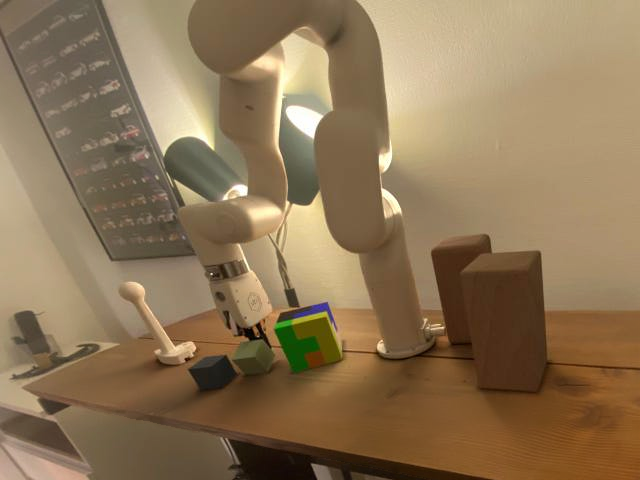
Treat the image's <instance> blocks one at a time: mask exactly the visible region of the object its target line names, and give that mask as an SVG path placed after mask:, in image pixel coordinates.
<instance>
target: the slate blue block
mask: <svg viewBox="0 0 640 480" xmlns="http://www.w3.org/2000/svg"><path fill="white" fill-rule="evenodd" d="M187 371H188V372H189V374H190V375H191V377H192V379H193V380H194V382H195V384H196V385H197V387H198V389H199V390H201V391H202V390H203V391H204V390H212V389H213V390H214V389H223V388H224V387H225V386H226V385H227V384H229V382H231V381H232V380H233V379H234V378H235V377H237V375H238V373H237V371H236V370H235V368H234V365H233V364H232V362H231V360H230V359H229V357H228V355H227V354H221V355H210V356H205V357H202V359H200V360H198V361H197V362H196V363H194V364H193V365H191V366H190V367H188V368H187Z"/></svg>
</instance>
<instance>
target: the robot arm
mask: <svg viewBox="0 0 640 480" xmlns="http://www.w3.org/2000/svg"><path fill="white" fill-rule="evenodd" d="M192 4H193V5H192V6H191V8H190V10H189V13H188V18H187V27H186V28H187V29H186V30H187V35H188V39H189V43H190V46H191V48H192V50H193V52H194V54H195V55H196V57H197V58H198V60H199V61H200V62H201V63H202V64H203V65H204V66H205V67H206V68H207V69H209V70H210V71H211V72H213V73H215V74H218V75H219V93H218V95H219V96H218V98H219V99H218V101H219V102H218V127H219V129H220V131H221V133H222V134H223V135H224V136H225V137H226V138H227V139H228V140H229V141H231V143H232V144H234V145H235V146H236V148H237V149H238V150H239V151H240V153H241V154H242V157H243V159H244V161H245V164H246V169H247V193H246V195H241V196H236V197H233V198H227V199H224V200H221V201H206V202H197V203H192V204H191V203H190V204H186V205H183V206H181V207H179V208H178V209H177V217H178V219H179V221H180V224H181V226H182V228H183V230H184V232H185V235H186V236H187V239H188V240H189V242H190V245H191V247H192V249H193V251H194V254H195V255H196V257H197V260H198V261H199V263H200V266H201V267H202V270H203V272H204V276H205V278H206V279H207V280H208V282H209V283H208V286H209V290H210V293H211V296H212V299H213V302H214V305H215V307H216V309H217V312H218V314H219V317H220V319H221V322H222V323H223V324H224V326H225V328H226V329H228V330H230V331H231V333H232V336H233V337H234V338H239V337H244V338H245V339H248V341H254V340H261V339H263V340H264V342H265V343H266V344H267V345H268V346H269V348H270V349H271V350H272V344H271V343H270V340H269V338H268V336H267V334H266V333H267V327H266V321H267V319H269V316H270V315H271V314H272V313H273V307H272V304H271V302H270V299H269V297H268V295H267V292H266V291H265V289H264V287H263V286H262V283H261V282H260V280H259V278H258V277H257V274H255V272H254V271H253V270H252V269H251V268H250V266H249V264H248V261H247V258H246V256H245V255H244V251H243V249H242V246H241V244H248V243H251V242H254V241H256V240H259V239H261V238H263V237H266V236H268V235H269V236H270V235H271V234H274V233H275V232H277V231H278V230H279V229H280V228H281V227H282V224H283V223H284V220H285V215H286V209H287V202H288V201H287V200H288V189H289V186H288V177H287V172H286V171H287V170H286V167H285V163H284V158H283V155H282V152H281V150H280V145H279V141H280V140H279V139H280V128H281V115H282V105H283V93H284V83H285V82H284V81H285V70H286V57H285V50H284V47H283V45H282V43H281V42H283V41H284V40H286V38H288V37H290V36H291V35H292V34H294V35H296V36H297V37H299V38H302V39H304V40H306V41H307V42H310V43H311V44H314V45H316V46H318V47H321V49H323V50H324V51H325V52H326V54H327V57H328V65H327V66H328V67H327V76H328V77H327V78H328V88H329V92H330V96H331V97H330V99H331V106H332V110H331V111H328V112H327V113H326V114H324V115H323V116H322V117H321V118H320V120H319V121H318V123H317V125H316V128H315V131H314V135H313V158H314V163H315V168H316V169H315V170H316V175H317V181H318V186H319V192H320V197H321V203H322V209H323V214H324V219H325V223H326V226H327V229H328V232H329V234H330V235H331V237H332V239H333V240H334V242H335V243H336V244H337V245H338V246H339V247H340V248H342V249H343V250H345V251H346V252H349V253H351V254H354V255H355V254H356V255H358V261H359V266H360V270H361V273H362V277H363V280H364V284H365V287H366V291H367V294H368V297H369V300H370V301H369V302H370V304H371V308H372V311H373V314H374V317H375V321H376V324H377V328H378V330H379V334H380V337H381V340H379V342H378V343H377V345H376V349H377V352H378V355H380V356H381V357H383V358H385V359H391V360H397V359H398V360H399V359H406V358H410V357H413V356H417V355H419V354H422V353H424V352H425V351H427V350H429V349H430V348H431V347H432V346H433V345H434V344H435V342H436V337H439V338H440V337H446V336H447V331H446V326H443V324H442V323H435V324H431V323H429V319H428V318H424V314H423V311H422V306H421V302H420V297H419V293H418V289H417V285H416V281H415V277H414V272H413V267H412V262H411V257H410V254H409V253H410V252H409V248H408V243H407V235H406V229H405V228H406V227H405V221H404V216H403V212H402V209H401V206H400V205H399V202H398V200H397V199H396V198H395V197H394V196H393V195H392V194H391V193H390V192H389V191H388V190H386V189H384V188H383V185H382V174H383V173H385V172H386V171H387V170H388V168H389V167H390V164H391V162H392V157H393V156H392V155H393V151H392V148H393V147H392V140H391V139H392V138H391V132H390V122H389V121H390V120H389V110H388V99H387V93H386V92H387V91H386V82H385V71H384V62H383V52H382V47H381V43H380V39H379V36H378V32H377V29H376V27H375V24H374V22H373V21H372V19H371V17H370V15H369V14H368V11H366V9H365V8H364V7H363V5H362V4H361V3H360V2H359V1H358V0H195V1H194V3H192Z"/></svg>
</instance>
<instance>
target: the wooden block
mask: <svg viewBox="0 0 640 480" xmlns="http://www.w3.org/2000/svg"><path fill="white" fill-rule="evenodd" d="M543 277H544V276H543V261H542V252H541V251H540V250H538V249H537V250H535V249H534V250H522V251H521V250H519V251H504V252H492V253H485V254H481V255H480V256H478V257H477V258H476V259H475V260H474V261H473V262H472V263H470V264H469V265H468V266H467V267H466V268H465V269H464V270H462V271H461V272H460V279H461V284H462V290H463V296H464V302H465V308H466V314H467V320H468V325H469V331H470V337H471V343H470V344H471V348H472V355H473V361H474V367H475V372H476V378H477V383H478V387H479V388H480V389H487V390H488V389H489V390H502V391H517V392H530V393H535V392H538V391H539V387H540V384H541V381H542V378H543V376H544V372H545V369H546V367H547V363H548V360H549V359H548V346H547V344H548V343H547V329H546V328H547V326H546V312H545V311H546V310H545V309H546V308H545V296H544V294H545V293H544V279H543Z"/></svg>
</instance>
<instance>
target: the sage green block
mask: <svg viewBox="0 0 640 480" xmlns="http://www.w3.org/2000/svg"><path fill="white" fill-rule="evenodd" d="M275 357H276V353H275V352H274V351H273V350H272V349H270V348H269V346H268V345H267V344H266V343H265V342H264V340H263V339H261V340H254V341H249V340H246V341H240V342H239V344H238V346H237V348H236V349H235V351H234V354H233V356H232V358H231V360H230V361H232V362H233V364H235V366H237V367H238V368H239V369H240V370H241V372H242V373H244V375H246V376H247V375H257V374H264V373H265V374H266V373H269V371H270V369H271V366H272V364H273V362H274V359H275Z"/></svg>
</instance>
